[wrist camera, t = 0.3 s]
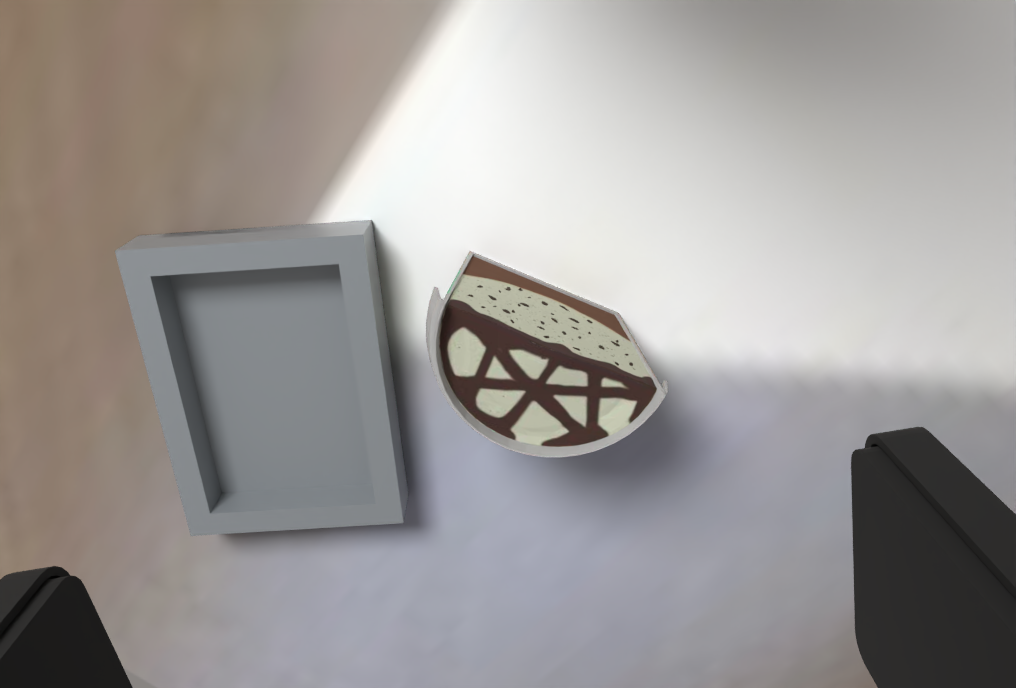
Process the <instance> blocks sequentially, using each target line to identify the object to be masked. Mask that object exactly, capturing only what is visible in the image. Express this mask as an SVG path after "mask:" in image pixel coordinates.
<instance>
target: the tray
mask: <svg viewBox="0 0 1016 688" xmlns="http://www.w3.org/2000/svg"><path fill="white" fill-rule="evenodd" d="M115 253H116V257H117V261H118V264H119V268H120V272H121V276H122V279H123V283H124V287H125V291H126V295H127V298H128V302H129V306H130V310H131V313H132V317H133V321H134V325H135V328H136V332H137V336H138V340H139V343H140V347H141V351H142V355H143V358H144V362H145V366H146V370H147V373H148V377H149V381H150V385H151V388H152V392H153V396H154V400H155V403H156V407H157V411H158V415H159V418H160V422H161V426H162V430H163V433H164V437H165V441H166V445H167V448H168V452H169V456H170V460H171V463H172V467H173V471H174V475H175V478H176V482H177V486H178V490H179V493H180V497H181V501H182V505H183V508H184V512H185V516H186V520H187V523H188V527H189V531H190V535H191V536H197V535H214V534H230V533H247V532H264V531H281V530H298V529H314V528H331V527H348V526H365V525H381V524H398V523H404V517H405V512H406V507H407V501H408V496H409V494H408V487H407V479H406V472H405V464H404V457H403V449H402V442H401V434H400V427H399V420H398V412H397V405H396V397H395V390H394V382H393V375H392V367H391V360H390V352H389V345H388V337H387V330H386V323H385V315H384V308H383V300H382V293H381V285H380V278H379V270H378V263H377V255H376V248H375V240H374V233H373V225H372V220H367V221H352V222H337V223H321V224H306V225H291V226H276V227H261V228H246V229H231V230H215V231H200V232H185V233H170V234H155V235H140V236H137V237H136V238H134V239H133V240H131V241H130V242H128V243H126V244H125V245H123V246H122V247H120V248H118V249H117V250H115Z"/></svg>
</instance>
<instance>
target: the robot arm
mask: <svg viewBox="0 0 1016 688" xmlns="http://www.w3.org/2000/svg"><path fill="white" fill-rule="evenodd" d="M851 475H852V517H853V559H854V601H855V633H856V639H857V644H858V648H859V651H860V654H861V657H862V659H863V661H864V663H865V665H866V667H867V669H868V671H869V673H870V674H871V676H872V678H873V680H874V681H875V683H876V685H877V687H878V688H1016V514H1015V513H1014V512H1013V511H1012V510H1010V509H1009V508H1008V507H1007V506H1006V505H1005V504H1004V503H1003V502H1002V501H1001V500H1000V499H999V498H998V497H997V496H996V495H995V494H994V493H993V492H992V491H991V490H990V489H989V488H987V487H986V486H985V485H984V484H983V483H982V482H981V481H980V480H979V479H978V478H977V477H976V476H975V475H974V474H973V473H972V472H971V471H970V470H969V469H968V468H967V467H966V466H964V465H963V464H962V463H961V462H960V461H959V460H958V459H957V458H956V457H955V456H954V455H953V454H952V453H951V452H950V451H949V450H948V449H947V448H946V447H945V446H944V445H943V444H942V443H940V442H939V441H938V440H937V439H936V438H935V437H934V436H933V435H932V434H931V433H930V432H929V431H928V430H926V429H925V428H923V427H914V428H908V429H902V430H896V431H890V432H883V433H877V434H871V435H870V436H869V437H868V438H867V440H866V443H865V448H864V449H858V450H855V451H854V452H853V454H852V459H851ZM0 688H132V686H131V684H130V681H129V679H128V677H127V675H126V673H125V671H124V669H123V666H122V664H121V662H120V660H119V658H118V656H117V654H116V652H115V649H114V647H113V645H112V643H111V641H110V639H109V637H108V635H107V633H106V630H105V628H104V626H103V624H102V622H101V620H100V618H99V616H98V613H97V611H96V609H95V607H94V605H93V603H92V601H91V599H90V597H89V594H88V592H87V590H86V588H85V586H84V584H83V583H82V581H81V580H80V579H79V578H77V577H76V576H70V575H69V573H68V572H67V571H66V570H64V569H63V568H62V567H56V566H53V567H47V568H40V569H34V570H28V571H22V572H16V573H11V574H8V575H5V576H4V577H3V578H2V579H0Z"/></svg>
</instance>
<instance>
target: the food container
mask: <svg viewBox="0 0 1016 688" xmlns="http://www.w3.org/2000/svg"><path fill="white" fill-rule="evenodd" d="M426 342H427V348H428V353H429V358H430V362H431V365H432V369H433V372H434V374H435V377H436V380H437V382H438V385H439V388H440V389H441V391H442V393H443V395H444V396H445V398H446V400H447V402H448V403H449V405H450V406H451V407H452V408H453V410H454V411H455V412H456V413H457V414H458V416H459V417H460V418H461V419H462V420H463V421H464V422H466V423H467V424H468V425H469V426H470V427H471V428H472V429H473V430H475V431H476V432H477V433H479V434H480V435H482V436H484V437H485V438H487V439H488V440H490V441H491V442H493V443H495V444H497V445H500V446H502V447H504V448H506V449H508V450H512V451H515V452H519V453H522V454H525V455H532V456H539V457H569V456H577V455H582V454H586V453H590V452H593V451H597V450H600V449H602V448H604V447H607V446H609V445H612V444H614V443H616V442H617V441H619V440H621V439H622V438H624V437H626V436H628V435H629V434H631V433H632V432H633V431H634V430H636V429H637V428H638V427H639V426H641V425H642V424H643V423H644V422H645V421H646V420H647V419H648V418H649V417H650V416H651V415H652V414H653V413H654V412H655V410H656V409H657V408H658V406H659V405H660V404H661V402H662V401H663V399H664V398H665V396H666V394H667V392H668V383H667V381H666V380H664V381H663V383H662V384H661V385H660V383H659V381H658V380H657V378H656V376H655V375H654V373H653V371H652V369H651V368H650V366H649V364H648V363H647V361H646V359H645V357H644V356H643V354H642V352H641V351H640V349H639V347H638V346H637V344H636V342H635V340H634V339H633V337H632V335H631V334H630V332H629V330H628V328H627V327H626V325H625V323H624V322H623V320H622V318H621V317H620V315H619V313H618V312H615V311H613V310H610V309H608V308H606V307H603V306H601V305H598V304H596V303H594V302H591V301H589V300H587V299H584V298H582V297H579V296H577V295H575V294H572V293H570V292H567V291H565V290H563V289H560V288H558V287H555V286H553V285H551V284H548V283H546V282H543V281H541V280H539V279H536V278H534V277H531V276H529V275H527V274H524V273H522V272H519V271H517V270H515V269H512V268H510V267H507V266H505V265H503V264H500V263H498V262H495V261H493V260H491V259H488V258H486V257H483V256H481V255H479V254H476V253H474V252H471V251H470V252H469V254H468V256H467V257H466V259H465V261H464V263H463V265H462V267H461V268H460V270H459V272H458V274H457V276H456V278H455V279H454V281H453V283H452V285H451V287H450V289H449V291H448V292H447V294H446V296H445V298H444V300H443V299H441V297H440V294H439V291H438V288H437V287H434V289H433V293H432V296H431V299H430V302H429V307H428V313H427V320H426Z"/></svg>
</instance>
